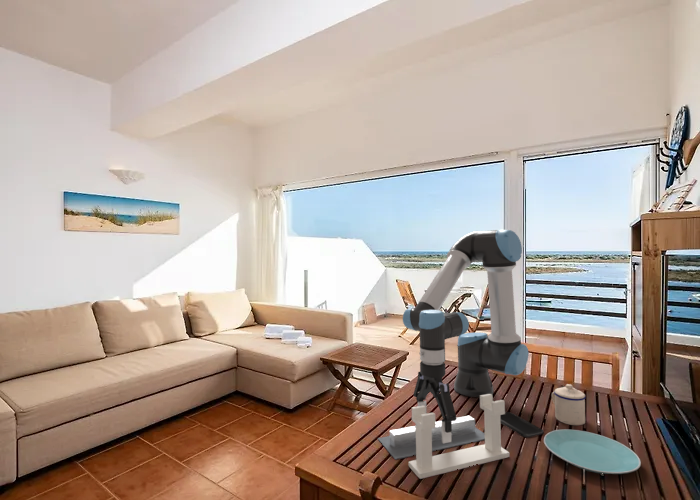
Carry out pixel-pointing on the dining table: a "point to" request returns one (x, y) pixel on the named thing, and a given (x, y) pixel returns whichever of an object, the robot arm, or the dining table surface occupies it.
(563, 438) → the plate
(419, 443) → the rail cradle stand
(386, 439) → the slate mat
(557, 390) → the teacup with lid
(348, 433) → the dining table surface
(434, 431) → the steel rail
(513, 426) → the phone
